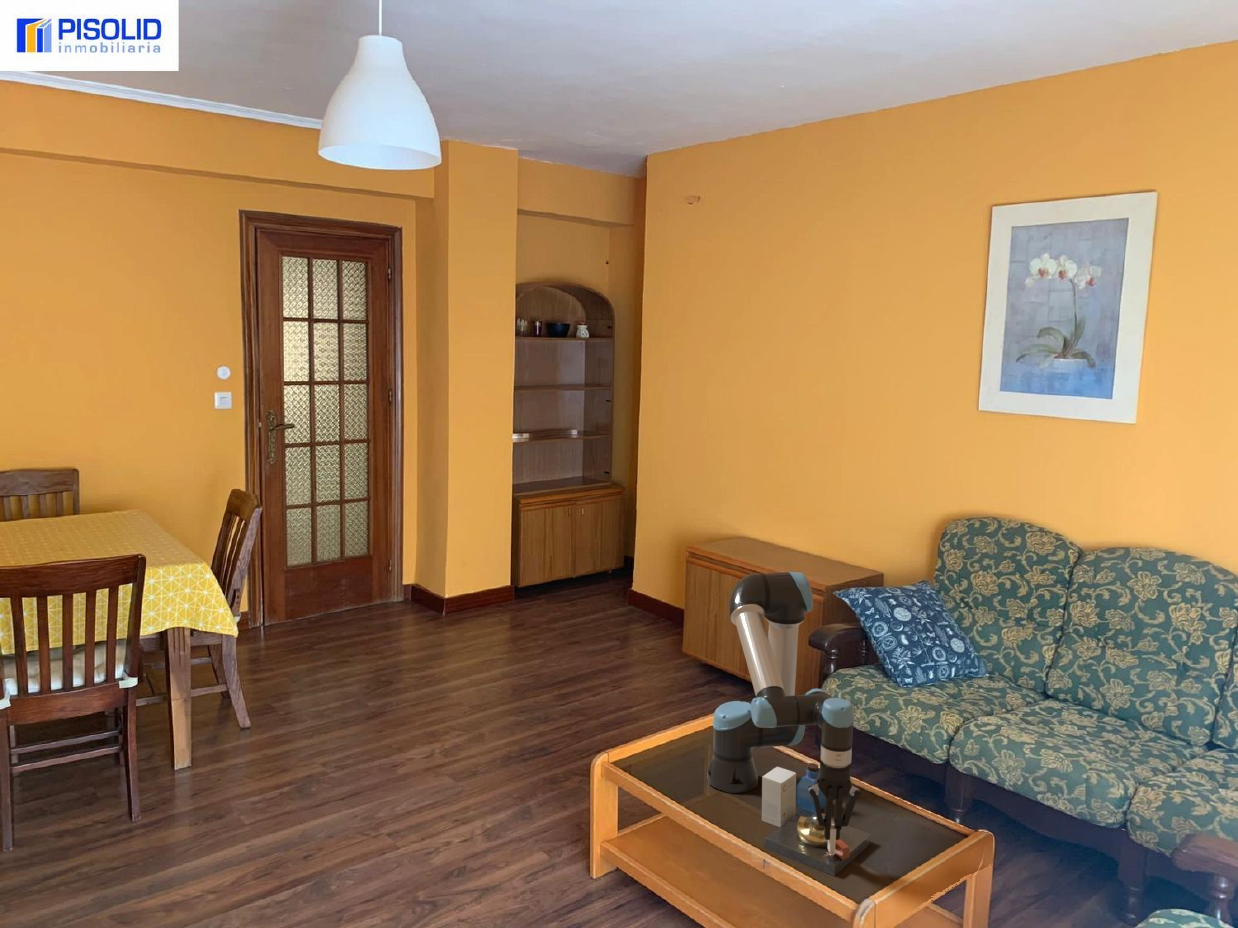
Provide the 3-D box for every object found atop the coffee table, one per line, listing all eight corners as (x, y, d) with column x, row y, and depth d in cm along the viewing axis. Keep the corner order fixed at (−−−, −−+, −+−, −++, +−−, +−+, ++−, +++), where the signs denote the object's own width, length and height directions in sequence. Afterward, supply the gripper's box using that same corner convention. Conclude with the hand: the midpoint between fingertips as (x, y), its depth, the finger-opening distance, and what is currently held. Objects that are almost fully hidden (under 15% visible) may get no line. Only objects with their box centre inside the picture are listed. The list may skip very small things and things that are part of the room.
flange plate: (764, 847, 242) (765, 818, 241) (803, 817, 257) (804, 790, 256) (834, 876, 229) (835, 846, 228) (871, 843, 244) (872, 814, 243)
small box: (776, 809, 262) (777, 765, 260) (796, 816, 258) (797, 772, 256) (760, 820, 256) (761, 775, 254) (781, 828, 252) (782, 783, 250)
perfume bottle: (827, 805, 264) (828, 765, 263) (815, 813, 260) (816, 772, 258) (808, 797, 268) (809, 758, 267) (796, 805, 264) (797, 765, 262)
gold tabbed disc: (788, 829, 246) (789, 816, 246) (824, 821, 250) (824, 808, 250) (826, 863, 230) (827, 850, 229) (864, 854, 234) (864, 841, 233)
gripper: (812, 768, 227) (808, 858, 230) (865, 769, 227) (860, 859, 230) (806, 754, 235) (802, 842, 238) (858, 755, 234) (853, 843, 238)
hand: (831, 850), depth 234 cm, fingers closed
